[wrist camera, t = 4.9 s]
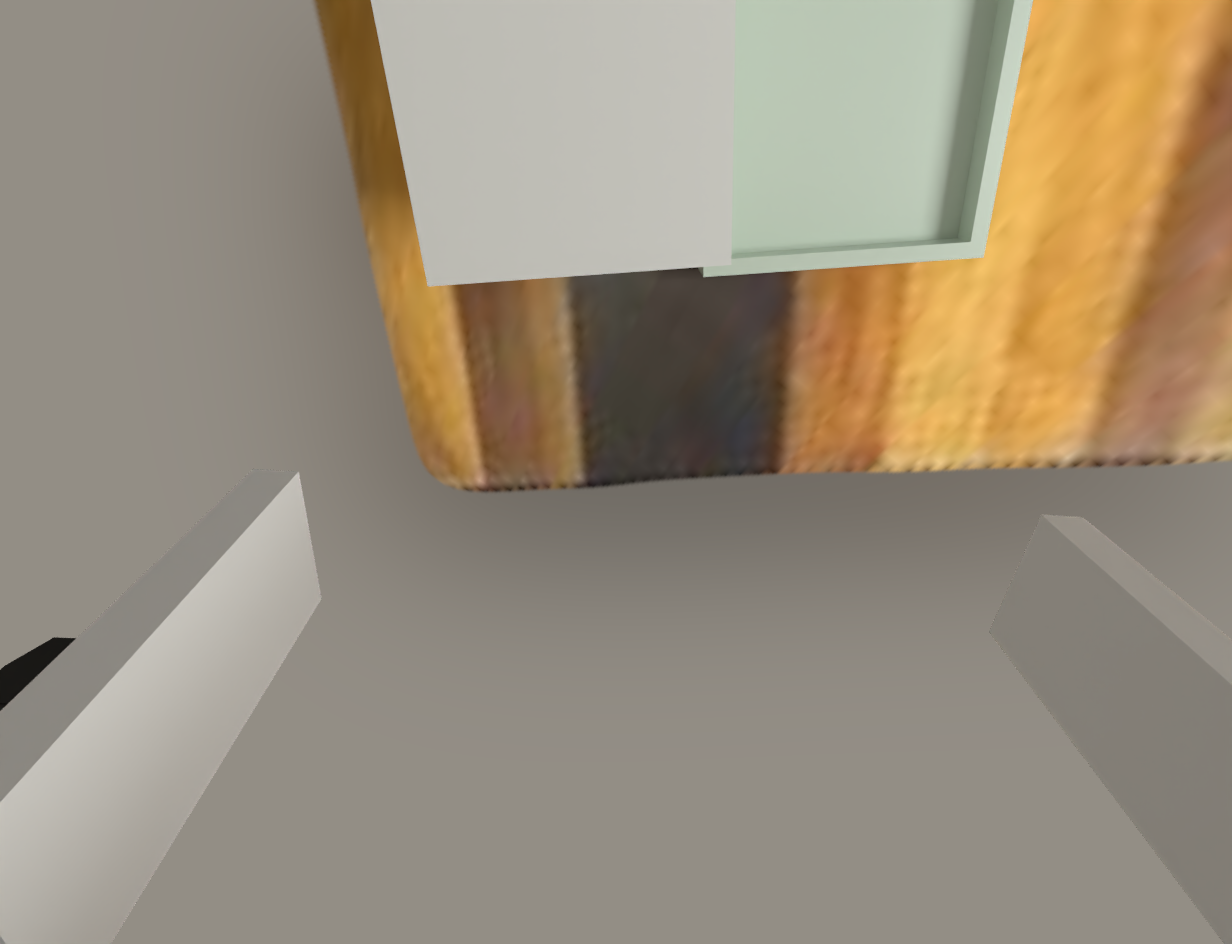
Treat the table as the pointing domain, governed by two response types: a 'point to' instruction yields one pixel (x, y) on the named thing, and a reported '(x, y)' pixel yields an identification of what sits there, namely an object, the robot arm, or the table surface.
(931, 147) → the tray
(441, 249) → the block
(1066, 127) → the table surface
